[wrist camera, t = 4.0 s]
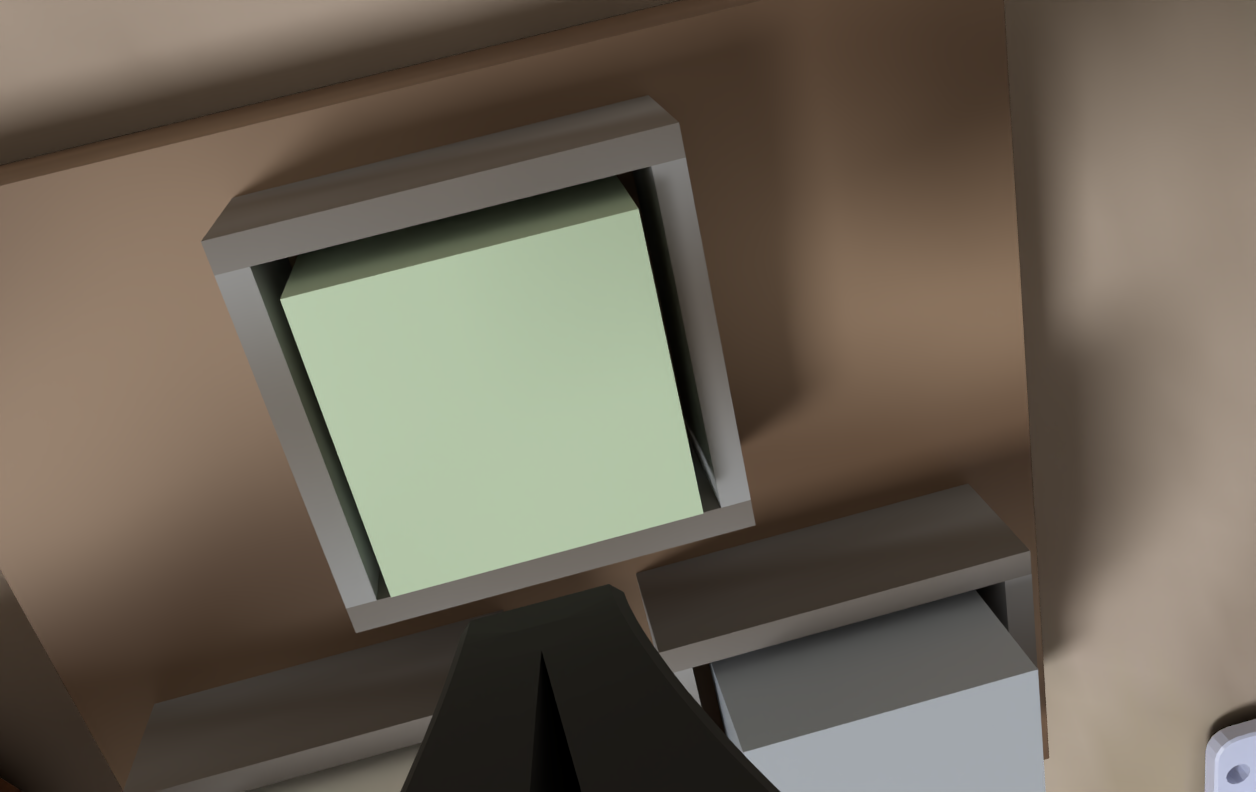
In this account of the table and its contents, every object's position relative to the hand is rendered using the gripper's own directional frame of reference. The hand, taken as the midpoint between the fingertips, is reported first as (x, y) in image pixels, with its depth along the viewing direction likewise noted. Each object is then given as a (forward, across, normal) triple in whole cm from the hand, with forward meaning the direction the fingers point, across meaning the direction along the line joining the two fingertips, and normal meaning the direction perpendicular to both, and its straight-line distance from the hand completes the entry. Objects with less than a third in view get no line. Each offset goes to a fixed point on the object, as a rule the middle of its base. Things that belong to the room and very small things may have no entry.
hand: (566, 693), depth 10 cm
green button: (+6, 0, -1) cm, 6 cm away
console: (+8, 0, +3) cm, 9 cm away
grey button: (+5, -4, +6) cm, 9 cm away
